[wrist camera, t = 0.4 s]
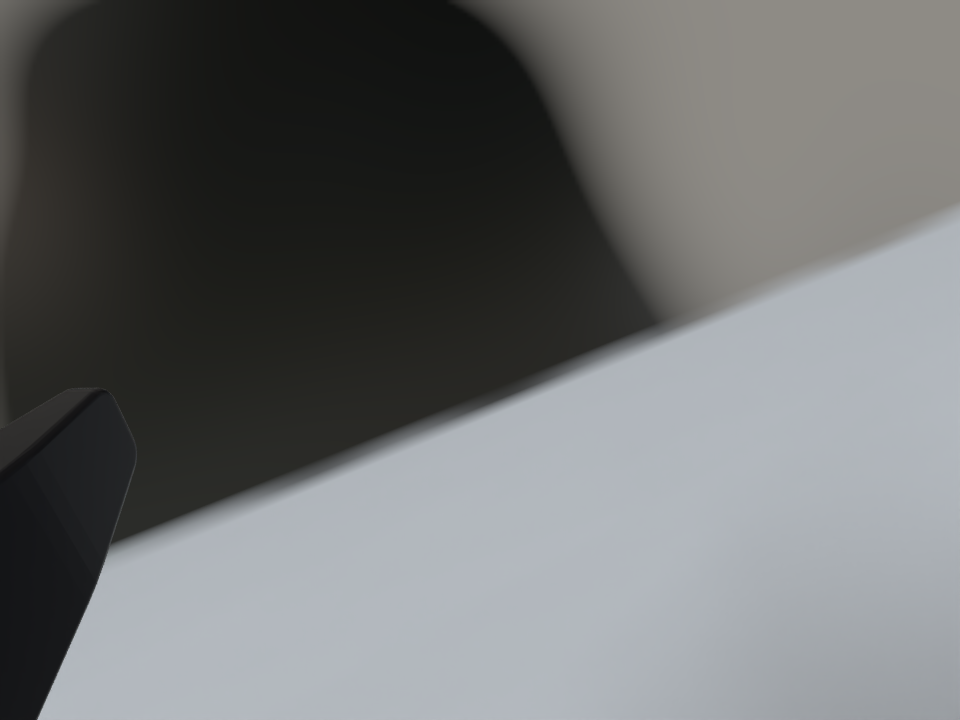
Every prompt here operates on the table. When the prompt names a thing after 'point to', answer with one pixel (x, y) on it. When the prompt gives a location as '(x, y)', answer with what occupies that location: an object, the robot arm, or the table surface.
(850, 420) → the table surface
